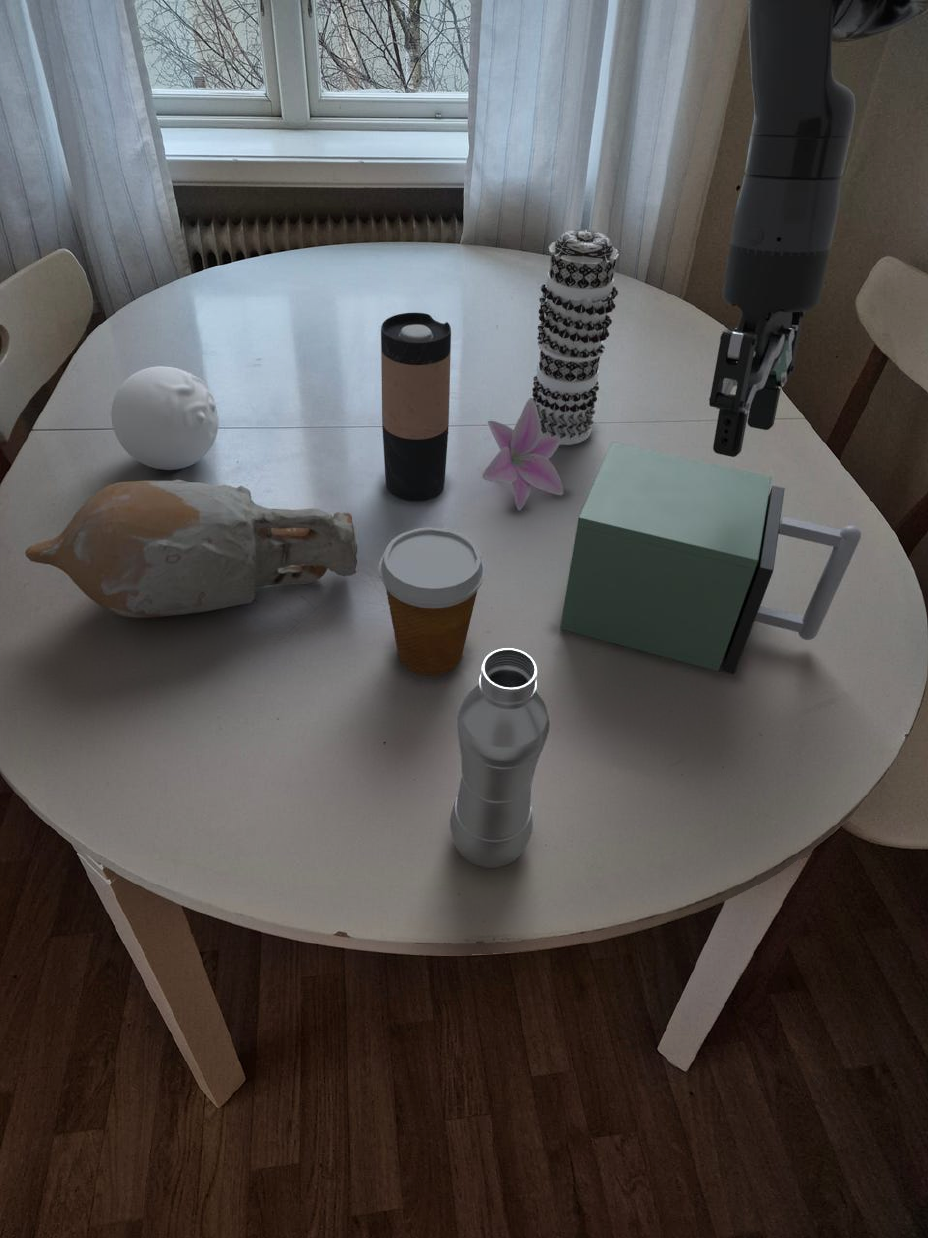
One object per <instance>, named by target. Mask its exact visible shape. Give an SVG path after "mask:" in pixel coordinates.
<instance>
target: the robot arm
mask: <svg viewBox="0 0 928 1238" xmlns="http://www.w3.org/2000/svg"><path fill="white" fill-rule="evenodd" d="M927 12H928V0H748V15H747V16H748V38H749V56H750V73H751V74H750V76H751V87H752V88H751V89H752V96H753V107H754V109H753V110H754V115H753V121H752V127H751V132H750V137H749V143H748V150H747V157H746V163H745V169H744V173H745V174H744V175H743V180H742V184H741V188H740V192H739V195H738V198H737V202H736V206H735V211H734V218H733V223H732V229H731V236H730V243H729V249H728V255H727V261H726V267H725V275H724V282H723V287H722V294H721V295H722V298H723V300H724V301H725V302H726V303H727V304H729V305H730V306H733V307H735V306H736V307H738V308H739V309H740V311H741V315H740V317H739V322H738V324H737V327H735V328H734V329H732V330H731V329H723V331H722V333H721V335H720V339H719V344H718V345H719V346H718V350H717V351H718V352H717V356H716V357H717V358H716V363H715V368H714V372H713V373H714V374H713V380H712V383H711V384H712V385H711V391H710V396H709V398H708V402H709V407H711V408H716V409H717V410H718V415H717V422H716V428H715V433H714V440H713V445H712V450H713V452H714V453H716V454H717V455H721V456H727V457H730V458H731V457H732V458H735V457H737V456H738V455H740V454H741V452H742V449H743V443H744V439H745V433H746V428H747V425H748V426H749V427H750V428H753V429H759V430H762V431H769V430H770V429H771V428H772V427H773V426H774V424H775V420H776V416H777V411H778V405H779V401H780V395H781V391H782V388H783V387H784V386H785V385H786V384H787V381H788V376H792V374H793V372H795V368H796V366H795V364H796V359H797V353H798V348H799V343H800V338H801V334H802V333H801V332H802V328H803V323H804V322H803V321H804V318H805V315H806V311H808V310H812V309H814V308H815V307H816V306H817V305H818V304H819V302H820V301H821V295H822V290H823V286H824V281H825V277H826V272H827V268H828V267H827V266H828V263H829V258H830V254H831V249H832V244H833V239H834V235H835V231H836V230H835V229H836V225H837V220H838V214H839V210H840V209H839V208H840V197H841V186H842V180H843V177H842V176H843V174H844V170H845V165H846V161H847V156H848V152H849V146H850V142H851V136H852V132H853V127H854V122H855V116H856V96H855V94H854V93H853V91H852V90H851V89H850V88H848V87H847V86H845V85H844V84H842V83H840V82H838V81H837V80H836V79H835V77H834V73H833V72H834V71H833V43H837V44H838V43H848V42H854V41H859V40H863V39H867V38H871V37H873V36H877V35H880V34H882V33H885V32H888V31H889V30H892V29H894V28H897V27H899V26H901V25H903V24H905V23H907V22H909V21H912V20H913V19H915V18H916V17H920V16H921V15H924V14H925V13H927ZM734 387H736V390H735V393H734V394H731V393H732V390H733V388H734Z"/></svg>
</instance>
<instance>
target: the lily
mask: <svg viewBox="0 0 928 1238" xmlns="http://www.w3.org/2000/svg"><path fill="white" fill-rule="evenodd" d="M532 398H533V397H530V398H528V400H527V401H526V403H525V405H524V407H523V409H522V411H521V414H520V416H519V418H518V420H517V422H516V423H515V426H514V428H511V427H509V426H508V425H506V424H503V423H501V422H497V421H494V420H487V425H488V428H489V430H490V432H491V434H492V436H493V438H494V440H495V443H496V444H497V446H498V448H499V451H498V453H497V454H496V455H495V456H494V458H493V459H492V461H491V462H490V463H489V464H488V466H487V467H486V468H485V470H484V471H483V473H482V477H481V478H482V479H483V480H484V481H488V482H492V483H493V482H494V483H511V487H512V492H513V497H514V501H515V505H516V508H517V510H518V511H521V510H522V509H523V507H524V506H525V504H526V502H527V501H528V498H529V496H530V494H531V491H532V486H533V487H535V488H537V489H539V490H542V491H545V492H547V493H550V494H553V495H557V496H562V495H564V491H565V490H564V487H563V486H564V485H563V483H562V480H561V477H560V475H559V474H558V471H557V469H556V467H555V465H554V464H553V462H552V461H551V460H550V458H552V456H553V455H554V454H555V453H556V451H557V449H558V448H559V446H561V445H560V443H561V439H560V438H558V437H554V436H541V423H540V418H539V414H538V410H537V407H536V404H535V402H534V400H533V399H532Z"/></svg>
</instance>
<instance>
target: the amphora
mask: <svg viewBox="0 0 928 1238" xmlns="http://www.w3.org/2000/svg"><path fill="white" fill-rule="evenodd" d="M358 546H359V545H358V543H357V539H356V531H355V526H354V523H353V517H352V514H350V513H349V512H335V513H334V514H333V515H332V514H331V513H329V512H327V511H324V510H322V509H320V508H317V507H312V508H301V509H287V508H269V507H265V506H262V505H259V504H257V503H255V502H254V500H253V498H252V493H251V490H250V489H248V488H246V487H244V486H242V485H239V486H238V487H234V486H231V485H229V484H228V485H227V484H222V485H217V484H210V483H209V484H208V483H204V482H198V481H197V482H195V481H193V482H192V481H185V480H183V479H174V480H133V481H121V482H120V481H119V482H114V483H111V484H108V485H106V486H104V487H103V488H102V489H100V490H98V491H96V493H94V494H92V496H90V497H89V498H88V499H87V500H86V501H85V502H84V503H83V504H82V505H81V506H80V507H79V509H78V510H77V511H76V513H75V514H74V515H73V516H72V518H71V519H70V521H69V522H68V524H67V525H66V527H65V528H64V529H63V530H62V532H61V533H60V534H59V535H57V536H56V537H54V538H52V539H49V540H45V541H41V542H38V543H34V544H32V545H30V546H29V547H27V548H26V549H25V557H26V558H27V559H28V560H29V561H30V562H33V563H37V564H43V565H49V566H51V567H55V568H57V569H59V570H61V571H62V572H64V573H65V574H66V575H67V576H68V577H69V579H70V580H71V581H72V582H73V583H74V584H75V585H76V586H77V587H78V588H79V590H81V591H82V593H83V594H84V595H86V596H87V597H88V598H89V599H90V600H92V601H93V602H94V603H95V604H97V605H98V606H99V607H101V608H102V609H104V610H106V611H108V612H109V613H111V614H114V615H118V616H121V617H125V618H136V619H137V618H139V619H140V618H142V619H143V618H144V619H145V618H158V617H159V618H160V617H169V616H180V615H189V614H195V613H196V614H197V613H203V612H209V611H215V610H221V609H227V608H230V607H237V606H241V605H246V604H250V603H252V602H254V599H255V598H256V597H255V596H256V592H257V589H258V588H263V587H267V586H268V587H269V586H279V585H280V586H281V585H296V584H299V585H300V584H301V585H302V584H303V585H308V584H310V583H316V582H317V581H319V580H321V578H322V577H323V576H324V575H325V574H326V572H327V570H329V571H330V572H333V573H335V574H336V575H337V576H341V577H350V576H352V575H356V573H357V567H358V566H357V565H358V557H357V554H358Z"/></svg>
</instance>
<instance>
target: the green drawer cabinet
mask: <svg viewBox="0 0 928 1238" xmlns="http://www.w3.org/2000/svg"><path fill="white" fill-rule="evenodd" d="M771 484H772V476H770V475H765V474H761V473H755V472H751V471H747V470H743V469H738V468H733V467H729V466H725V465H719V464H715V463H711V462H706V461H701V460H697V459H692V458H688V457H682V456H678V455H674V454H669V453H665V452H660V451H656V450H652V449H647V448H641V447H637V446H634V445H629V444H623V443H619V442H614V441H611V442H610V444H609V447H608V449H607V451H606V454H605V456H604V458H603V460H602V462H601V465H600V468H599V469H598V472H597V474H596V476H595V479H594V480H593V483H592V486H591V488H590V490H589V493H588V495H587V498H586V500H585V502H584V505H583V507H582V509H581V511H580V514H579V516H578V519H577V526H576V532H575V535H574V536H575V538H574V543H573V549H572V553H571V554H572V555H571V561H570V566H569V572H568V579H567V585H566V591H565V596H564V602H563V609H562V614H561V620H560V621H561V622H560V628H559V629H560V630H563V631H566V632H570V633H573V634H578V635H582V636H584V637H589V638H593V639H596V640H599V641H604V642H606V643H607V642H608V643H611V644H615V645H619V646H623V647H626V648H628V649H629V648H630V649H633V650H637V651H641V652H644V653H648V654H652V655H655V656H659V657H662V658H667V659H671V660H674V661H678V662H681V663H685V664H689V665H693V666H696V667H700V668H703V669H707V670H712V671H715V672H719V671H720V668H721V665H722V664H723V661H724V657H725V652H726V649H727V647H728V644H729V641H730V638H731V635H732V633H733V630H734V627H735V624H736V621H737V619H738V616H739V613H740V610H741V608H742V605H743V602H744V599H745V596H746V594H747V591H748V588H749V585H750V582H751V580H752V577H753V574H754V571H755V568H756V566H757V563H758V559H759V553H760V547H761V540H762V534H763V528H764V522H765V515H766V509H767V503H768V497H769V494H770V491H771Z"/></svg>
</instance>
